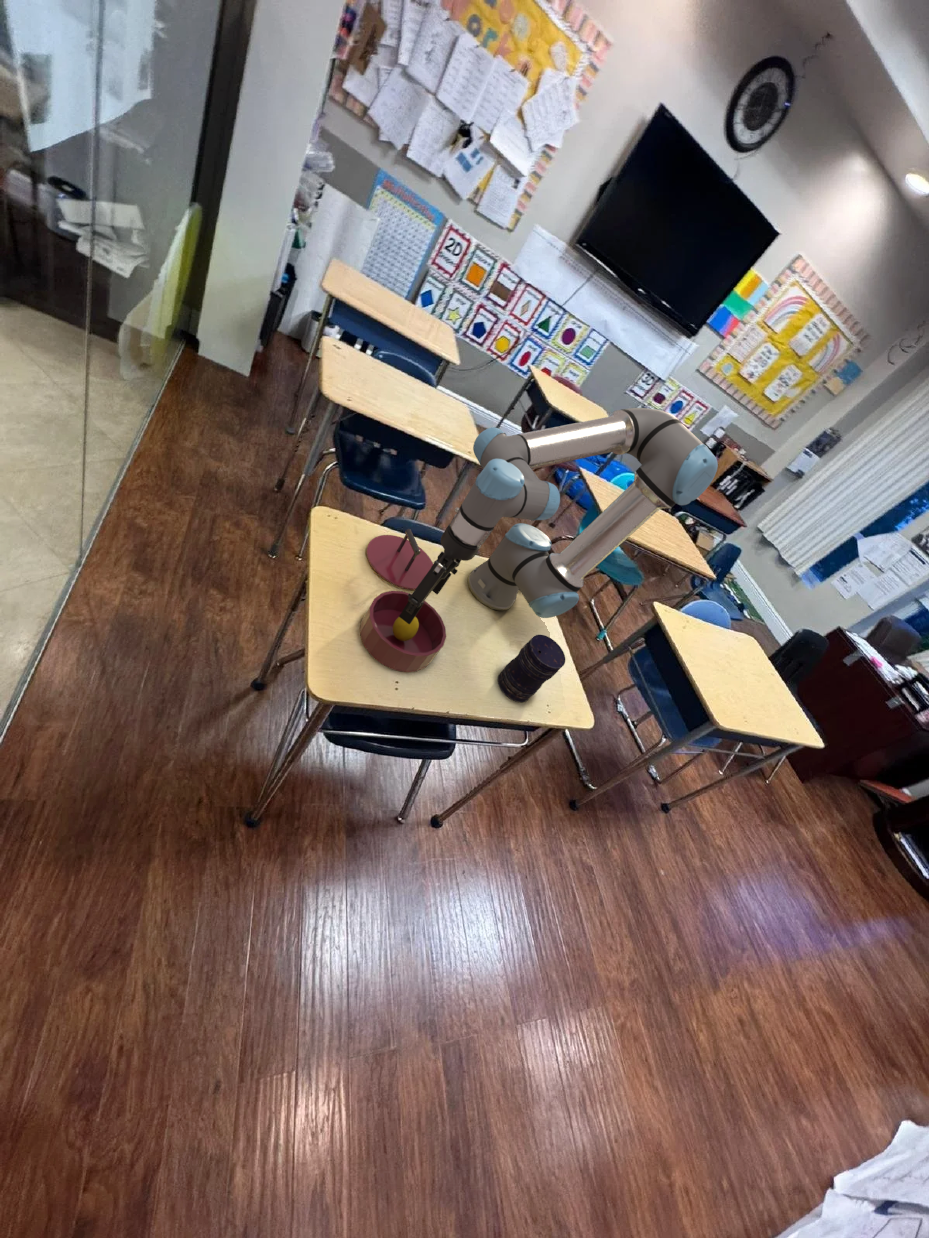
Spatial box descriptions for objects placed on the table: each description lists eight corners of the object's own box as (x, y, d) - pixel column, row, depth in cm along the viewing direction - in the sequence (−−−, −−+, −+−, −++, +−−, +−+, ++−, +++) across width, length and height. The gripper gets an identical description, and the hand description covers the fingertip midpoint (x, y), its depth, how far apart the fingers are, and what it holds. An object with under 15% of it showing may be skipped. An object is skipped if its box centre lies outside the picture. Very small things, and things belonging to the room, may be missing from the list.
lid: (420, 541, 149) (433, 518, 143) (443, 593, 139) (458, 570, 133) (357, 534, 137) (369, 508, 132) (377, 589, 127) (391, 564, 122)
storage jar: (519, 667, 134) (552, 633, 125) (537, 699, 130) (572, 666, 120) (490, 671, 128) (523, 635, 119) (508, 705, 123) (543, 670, 114)
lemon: (406, 651, 118) (420, 630, 113) (384, 640, 117) (398, 618, 112) (412, 635, 122) (426, 614, 117) (391, 624, 121) (405, 603, 116)
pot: (419, 609, 130) (430, 592, 126) (444, 670, 121) (457, 654, 117) (351, 607, 119) (360, 589, 115) (372, 674, 110) (383, 657, 106)
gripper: (474, 501, 109) (431, 570, 122) (421, 546, 89) (376, 622, 102) (502, 523, 108) (456, 589, 122) (455, 572, 89) (406, 645, 102)
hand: (419, 604), depth 112 cm, fingers open, 13 cm apart
